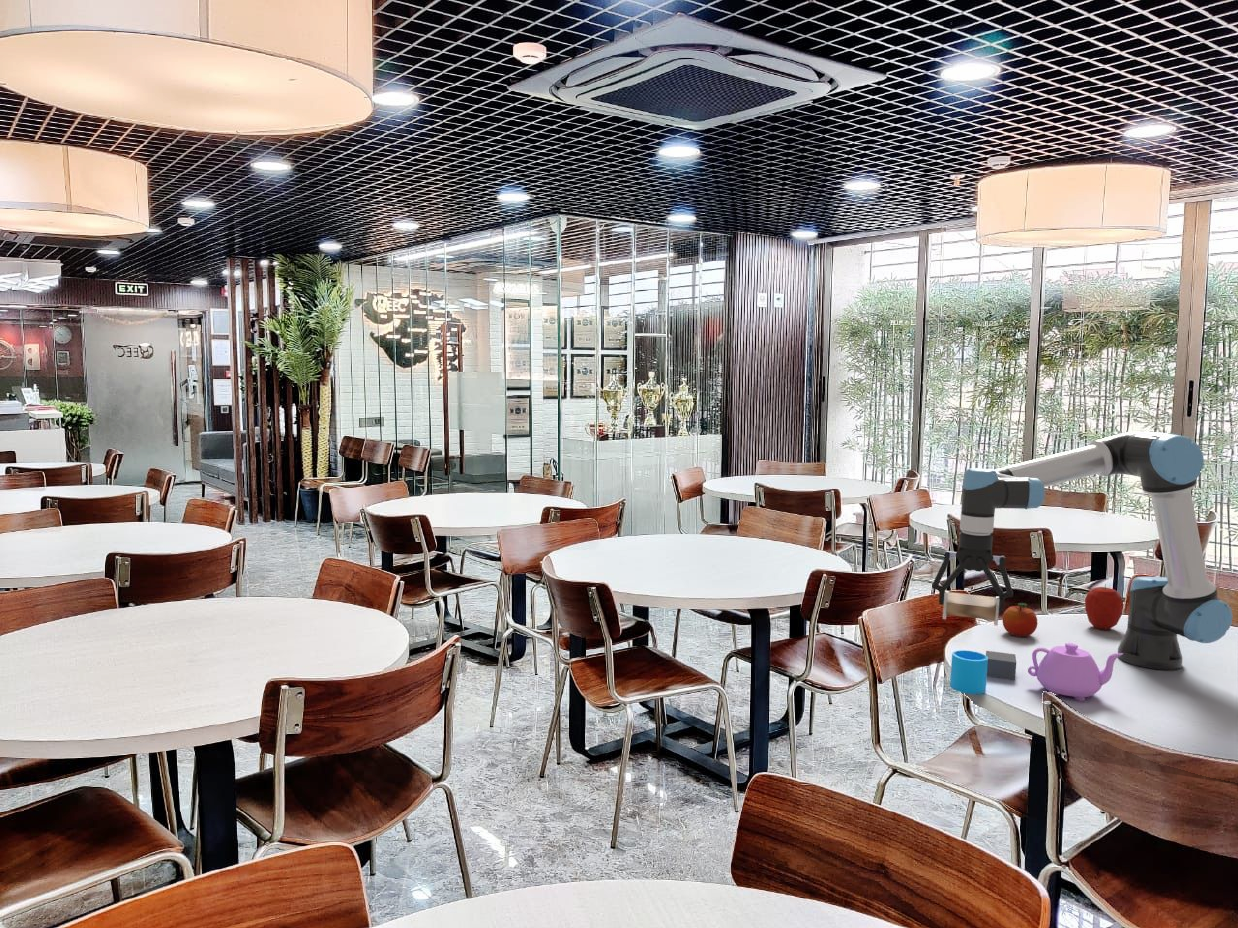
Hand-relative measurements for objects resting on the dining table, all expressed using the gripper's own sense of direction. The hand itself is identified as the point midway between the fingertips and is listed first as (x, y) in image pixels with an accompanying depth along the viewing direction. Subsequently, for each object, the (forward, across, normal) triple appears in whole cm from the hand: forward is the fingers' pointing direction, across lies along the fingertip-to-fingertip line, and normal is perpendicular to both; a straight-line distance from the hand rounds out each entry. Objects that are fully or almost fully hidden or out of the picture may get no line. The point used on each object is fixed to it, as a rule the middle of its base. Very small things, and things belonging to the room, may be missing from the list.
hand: (969, 620), depth 220 cm
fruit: (+16, -14, -53) cm, 57 cm away
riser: (+16, -8, -13) cm, 22 cm away
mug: (+17, 0, 0) cm, 17 cm away
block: (-2, 0, 0) cm, 2 cm away
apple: (+16, -38, -72) cm, 83 cm away
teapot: (+16, -24, -5) cm, 29 cm away
